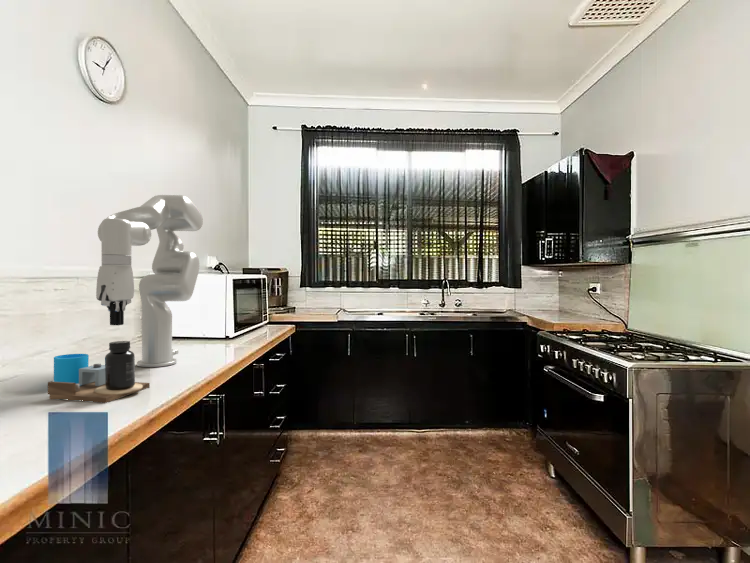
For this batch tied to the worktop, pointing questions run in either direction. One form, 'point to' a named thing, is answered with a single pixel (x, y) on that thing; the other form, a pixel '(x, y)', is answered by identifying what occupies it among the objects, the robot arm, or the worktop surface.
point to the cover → (92, 375)
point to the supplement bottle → (119, 366)
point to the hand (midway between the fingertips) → (116, 324)
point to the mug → (69, 367)
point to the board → (90, 391)
